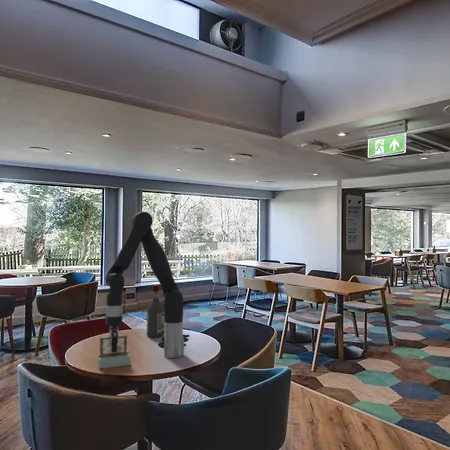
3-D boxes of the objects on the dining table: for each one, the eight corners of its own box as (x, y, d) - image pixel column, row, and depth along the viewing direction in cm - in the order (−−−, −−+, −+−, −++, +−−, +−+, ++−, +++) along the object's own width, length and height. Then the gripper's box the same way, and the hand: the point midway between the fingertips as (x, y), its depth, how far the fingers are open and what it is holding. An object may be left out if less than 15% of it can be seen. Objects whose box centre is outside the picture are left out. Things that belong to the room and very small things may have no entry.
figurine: (166, 334, 230) (151, 350, 200) (166, 333, 230) (151, 349, 200) (192, 336, 228) (181, 352, 199) (192, 334, 228) (181, 350, 199)
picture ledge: (127, 358, 188) (128, 349, 188) (130, 364, 179) (130, 356, 179) (98, 361, 183) (98, 353, 183) (99, 368, 174) (99, 359, 174)
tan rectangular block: (125, 352, 185) (126, 333, 185) (126, 354, 181) (126, 335, 182) (99, 355, 181) (100, 336, 181) (100, 357, 177) (100, 338, 177)
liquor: (145, 337, 224) (145, 286, 225) (151, 333, 233) (151, 284, 234) (159, 338, 222) (160, 286, 223) (165, 334, 231) (165, 284, 232)
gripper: (123, 317, 176) (123, 354, 176) (121, 310, 189) (120, 345, 189) (106, 318, 173) (106, 356, 173) (105, 311, 187) (104, 346, 186)
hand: (113, 350), depth 181 cm, fingers closed on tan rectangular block, 3 cm apart
